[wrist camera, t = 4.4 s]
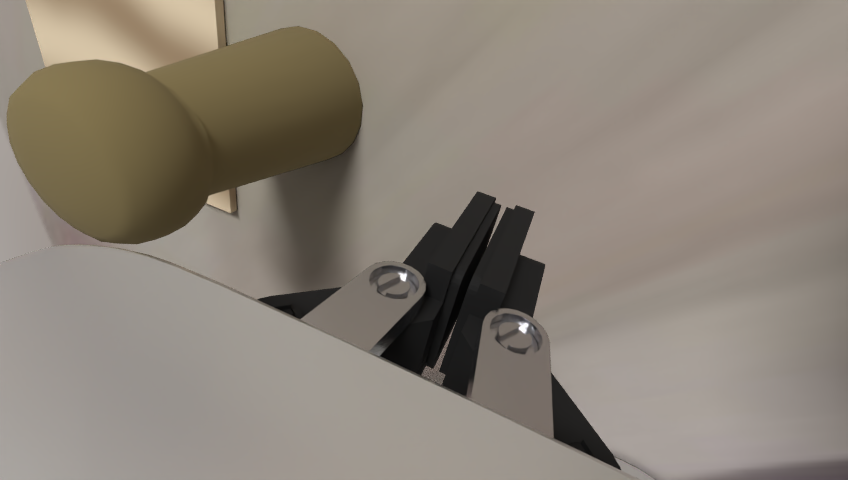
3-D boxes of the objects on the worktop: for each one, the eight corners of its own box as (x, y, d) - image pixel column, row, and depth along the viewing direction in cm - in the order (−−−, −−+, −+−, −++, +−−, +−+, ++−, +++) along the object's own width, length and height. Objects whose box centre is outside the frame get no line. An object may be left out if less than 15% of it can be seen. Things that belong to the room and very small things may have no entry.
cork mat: (236, 209, 25) (230, 213, 24) (76, 143, 28) (69, 145, 27) (208, -215, 15) (197, -221, 15) (-38, -255, 18) (-53, -261, 17)
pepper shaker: (325, 183, 22) (125, 310, 13) (237, 102, 21) (-34, 174, 12) (386, 92, 18) (168, 180, 9) (281, -7, 18) (-54, -17, 9)
